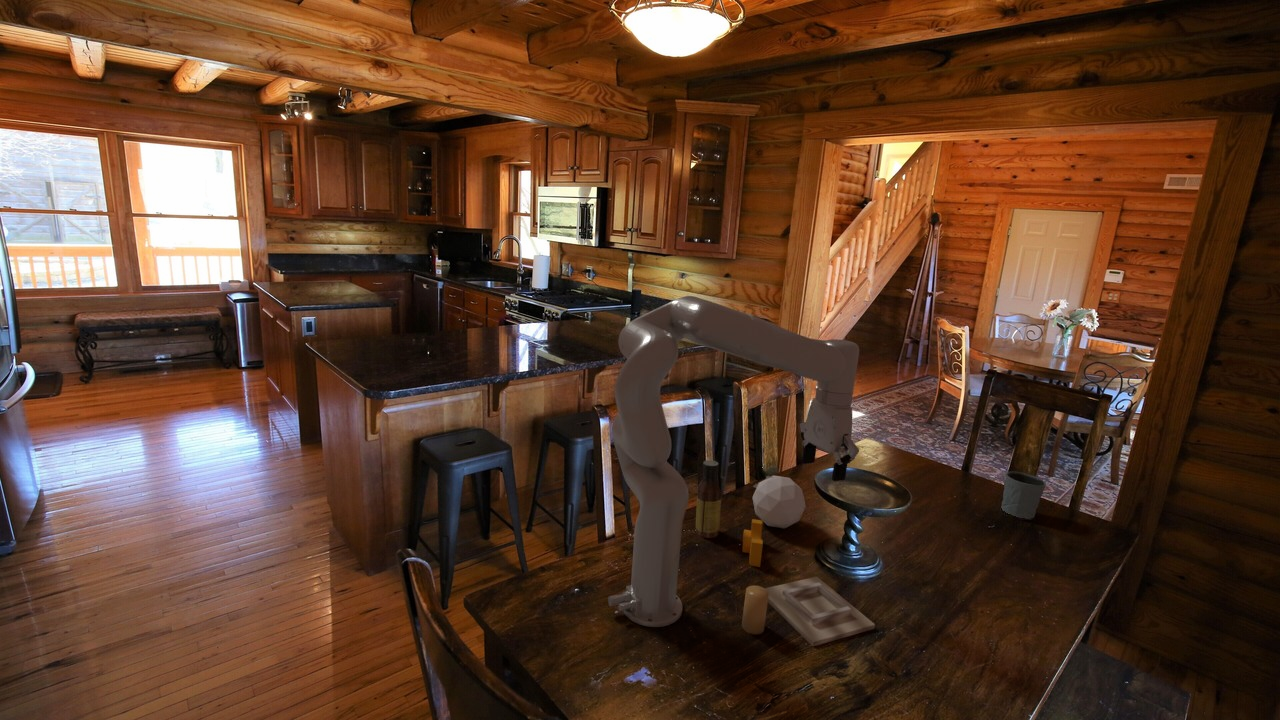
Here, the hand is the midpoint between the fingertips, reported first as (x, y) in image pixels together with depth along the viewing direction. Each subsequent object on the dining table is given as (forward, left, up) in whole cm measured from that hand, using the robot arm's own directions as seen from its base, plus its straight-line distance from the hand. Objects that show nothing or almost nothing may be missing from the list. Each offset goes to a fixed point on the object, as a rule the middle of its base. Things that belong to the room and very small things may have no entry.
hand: (822, 471), depth 131 cm
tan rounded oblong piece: (-21, -9, -28) cm, 36 cm away
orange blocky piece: (-5, +15, -28) cm, 32 cm away
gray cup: (+87, +8, -28) cm, 91 cm away
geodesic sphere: (+9, +25, -28) cm, 39 cm away
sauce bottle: (-11, +27, -28) cm, 40 cm away
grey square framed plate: (-5, -9, -28) cm, 30 cm away
